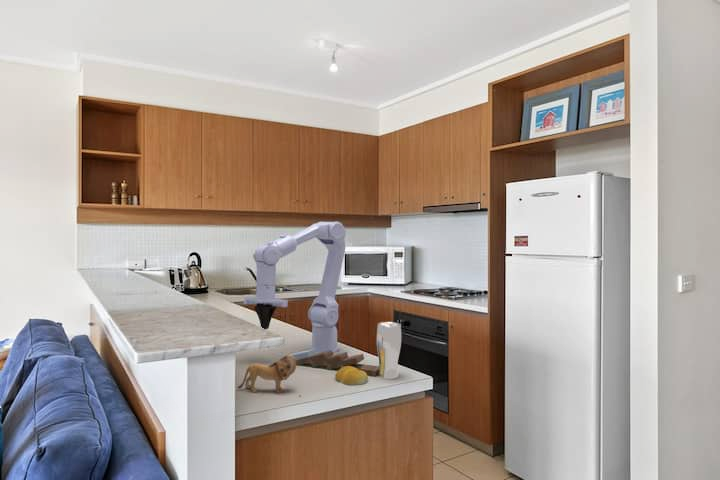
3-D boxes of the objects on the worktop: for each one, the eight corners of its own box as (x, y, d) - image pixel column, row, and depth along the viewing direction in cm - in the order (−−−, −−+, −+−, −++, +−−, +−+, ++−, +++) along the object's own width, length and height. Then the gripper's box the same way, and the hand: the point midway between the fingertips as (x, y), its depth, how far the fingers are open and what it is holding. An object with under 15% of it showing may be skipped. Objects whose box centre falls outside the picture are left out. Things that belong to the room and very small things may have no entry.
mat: (283, 358, 157) (283, 357, 157) (365, 370, 146) (365, 368, 146) (271, 364, 150) (271, 363, 150) (356, 376, 140) (356, 375, 140)
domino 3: (310, 362, 146) (339, 355, 143) (318, 358, 151) (346, 351, 147) (312, 367, 146) (341, 360, 143) (319, 363, 151) (348, 357, 147)
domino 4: (326, 364, 144) (356, 357, 141) (333, 360, 149) (362, 353, 145) (327, 369, 144) (358, 362, 141) (335, 365, 149) (364, 358, 145)
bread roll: (351, 389, 129) (351, 373, 129) (330, 380, 136) (330, 366, 136) (374, 383, 134) (375, 368, 134) (353, 375, 141) (353, 361, 141)
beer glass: (401, 380, 137) (402, 326, 136) (376, 380, 136) (377, 326, 136) (399, 373, 144) (400, 322, 143) (375, 372, 143) (376, 321, 143)
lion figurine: (295, 386, 129) (296, 352, 129) (295, 393, 124) (296, 357, 124) (238, 387, 128) (239, 352, 128) (235, 394, 122) (236, 357, 122)
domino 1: (279, 358, 150) (307, 351, 147) (288, 354, 155) (315, 348, 151) (281, 363, 150) (309, 357, 147) (289, 359, 155) (316, 353, 151)
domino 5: (342, 366, 142) (374, 370, 139) (349, 362, 147) (380, 366, 143) (342, 372, 142) (374, 376, 139) (349, 367, 147) (380, 372, 143)
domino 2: (295, 360, 148) (324, 353, 145) (303, 356, 153) (331, 349, 149) (297, 365, 148) (325, 358, 145) (305, 361, 153) (333, 355, 149)
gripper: (238, 284, 151) (237, 328, 151) (279, 287, 145) (278, 333, 145) (251, 282, 157) (250, 324, 157) (291, 285, 152) (290, 329, 152)
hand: (265, 328), depth 152 cm, fingers closed
